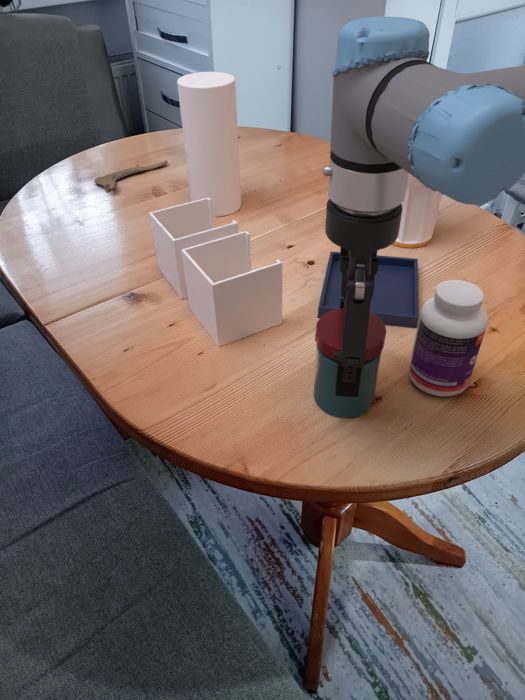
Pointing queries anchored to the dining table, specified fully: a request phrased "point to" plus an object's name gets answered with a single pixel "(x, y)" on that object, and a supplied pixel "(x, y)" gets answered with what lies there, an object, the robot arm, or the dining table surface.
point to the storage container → (216, 272)
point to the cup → (417, 214)
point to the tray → (379, 290)
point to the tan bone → (123, 175)
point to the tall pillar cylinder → (211, 139)
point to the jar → (327, 386)
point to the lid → (331, 334)
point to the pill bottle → (448, 338)
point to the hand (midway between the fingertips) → (346, 365)
